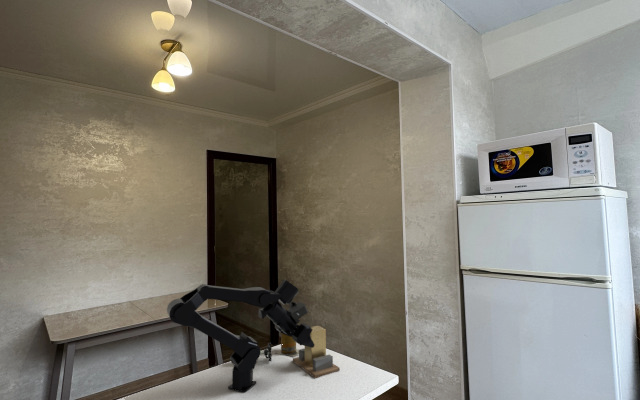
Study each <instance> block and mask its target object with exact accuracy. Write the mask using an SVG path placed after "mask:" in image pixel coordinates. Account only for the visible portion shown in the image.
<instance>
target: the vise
mask: <svg viewBox="0 0 640 400" xmlns="http://www.w3.org/2000/svg"><path fill="white" fill-rule="evenodd" d="M333 359H334V357H333V355H331V354H326V356H322V357H318V358H314V359H313V367H310V366H309V365H308V364H306V363H305V347H304V348H301V349H300V350H299V354H298V356H296V357H293V358H292V362H293V363H294V364H296V365H298V367H300V368H301V369H303V370H304V372H306V373H308V374H309V375H311V376H312V377H313V378H314V379H316V378H321V377H323V376H327V375H330V374H333V373H336V372H340V367H339V366H338V365H337V364H335V363H333V362H334V361H333Z"/></svg>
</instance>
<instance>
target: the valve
mask: <svg viewBox="0 0 640 400" xmlns="http://www.w3.org/2000/svg"><path fill="white" fill-rule="evenodd" d="M260 351H261V352H260V356H262V355H263V356H264V357H265V359H267V360H268V362H272V356H273V352H272V342H268V343H267V346H266V347H265V348H264V350H261V349H260ZM260 356H259V357H260Z"/></svg>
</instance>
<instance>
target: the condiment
mask: <svg viewBox="0 0 640 400" xmlns="http://www.w3.org/2000/svg"><path fill="white" fill-rule="evenodd" d="M282 344H283V345H282ZM299 350H300V349H298V348H297V342H295V341H294V340H293V337H290V336H287V335H285V334H282V333H281V332H280V350H279V351H277V352H276V354H278V355H284V356H289V357H293V358H296V357H298V356H299Z"/></svg>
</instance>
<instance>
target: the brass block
mask: <svg viewBox="0 0 640 400" xmlns="http://www.w3.org/2000/svg"><path fill="white" fill-rule="evenodd" d="M310 327H311V328H312V332H311V333H310V337H311V339H312V341H313V343H314V345H315V346H314V347H313V348H311V347H308V346H304V348H305V363H306V364H308V365H309V366H310V367H313V359H314V358H318V357H322V356H326V355H327V333H326V331H327V329H326V328H324V327H322V326H320V325H315V326H310Z"/></svg>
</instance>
